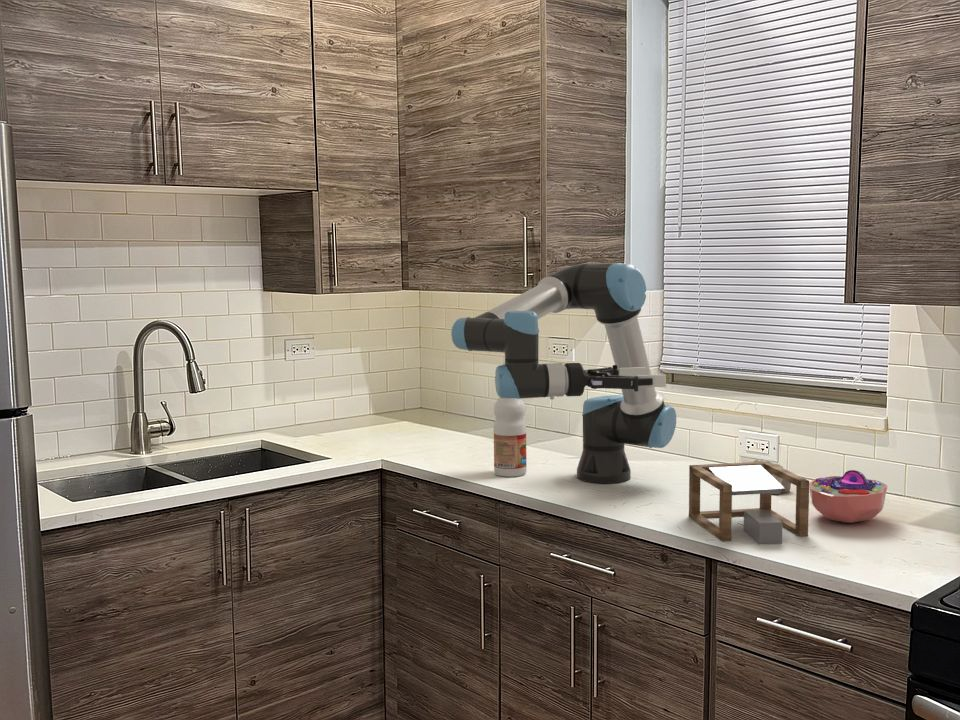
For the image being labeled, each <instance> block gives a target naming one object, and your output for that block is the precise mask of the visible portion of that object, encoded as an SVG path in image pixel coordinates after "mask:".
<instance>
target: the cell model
mask: <svg viewBox="0 0 960 720" xmlns="http://www.w3.org/2000/svg"><path fill="white" fill-rule="evenodd" d="M887 490H888V485H887V484H886V483H885V482H881V481H879V480H875V479H870V478H869V479H868V478H867V477H866V475H865V474H864V473H862V472H860V471H859V470H855V469H850V470H847V471H845V472H844V474H843V475H842V476H838V475H834V476H832V475H831V476H826V477H825V476H824V477H818V478H814V479H813V480H811V481H809V496H810V499H811V504H812V506H813V508H815V510H816V511H817V512H819V513H820V514H821V515H822V516H823V517H825V518H827V519H829V520H831V521H837V522H842V523H846V524H847V523H848V524H854V523H857V522H864V521H868V520H871V519H874V518H876V517H877V515H878V514H880V513H881V512H882V511H883V509H884V506H885V503H886V502H885V500H886V495H887Z"/></svg>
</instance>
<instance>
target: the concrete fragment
mask: <svg viewBox="0 0 960 720" xmlns="http://www.w3.org/2000/svg"><path fill="white" fill-rule="evenodd" d="M753 462H764V461H763V460H758V459H755V460H753ZM774 464H775V465H777V466H779V467H781V468H783V469H785V467H783V465H781V464H779V463H774ZM772 476H773V477H774V478H775V479H776V480H777V481H778V482H779V483H780V484H781V485H782V486H783V487H784V488H785V492H784V493H788V492H790V491H791V487H792V485H791V484H792V483H790V482H788V481H786V480H784V479H782V478H780V477H778V476H776V475H774V474H772ZM771 495H781V493H771Z"/></svg>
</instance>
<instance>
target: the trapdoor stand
mask: <svg viewBox="0 0 960 720" xmlns="http://www.w3.org/2000/svg"><path fill="white" fill-rule="evenodd" d="M775 464H776V463H773V462H771V461H768V460H765V461H764V462H754V461H752V462H751V461H747V462H729V463H728V462H726V463H707V464H690V465H688V469H689V471H688V473H689V475H688V477H689V480H688V481H689V482H688V517H689V518H691V519H692V520H693V521H694V522H696V523H698V524H699V525H700V527H702V528H704V529H705V530H707V531H708V532H710V533H711V534H712V535H714V536H715V537H716V538H717V539H719V540H720V541H722V542H732V526H733V525H732V521H733V517H738V516H739V517H740V516H741V517H742V516H743V517H744V510H767V511H768V512H769V513H771V514H772V515H773V516H775V517H776V518H777V519H779V520H780V521H781V522H782V528H783V527H784V528H785V529H787V530H788V531H790V532H792V533H793V534H794V535H796V536H798V537H808V536H809V515H810V514H809V513H810V485H809V484H810V480H808V479H806V478H804V477H802V476H800V475H797V474H795V473H794V472H792V471H789V469H788V470H787V469H785V468H784V467H783V468H784V469H783V468H781V467H779V466H777V465H775ZM744 465H764V469H765V470H766V471H767V472H769V473H770V474H771V475H772V474H774V475H776V476H778V477H780V478H782V479H784V480H786V481H788V482H790V483H791V484H792V485H794V486H796V489H795V492H796V493H795V523H794V522H793V521H791V520H790V519H788V518H786V517H784V516H782V515H781V514H779V513H778V512H776V511H774V510H772V494H771V493H766V494H759V507H755V508H738V509H733V495H732V485H731V484H729V483H728V482H726V481H724V480H723V479H721V478H719V477H717V476H716V475H714V474H712V473H710V472H709V471H707V470H705V467H724V466H744ZM701 480H702V481H704V482H706V483H708V484H709V485H711V486H712V487H714V488H716V489H717V490H719V506H718V507H719V510H704V511H702V510H701ZM709 518H719V520H718V522H719V523H718V525H716V524H715V523H713V522H712V521H710V520H709Z"/></svg>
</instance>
